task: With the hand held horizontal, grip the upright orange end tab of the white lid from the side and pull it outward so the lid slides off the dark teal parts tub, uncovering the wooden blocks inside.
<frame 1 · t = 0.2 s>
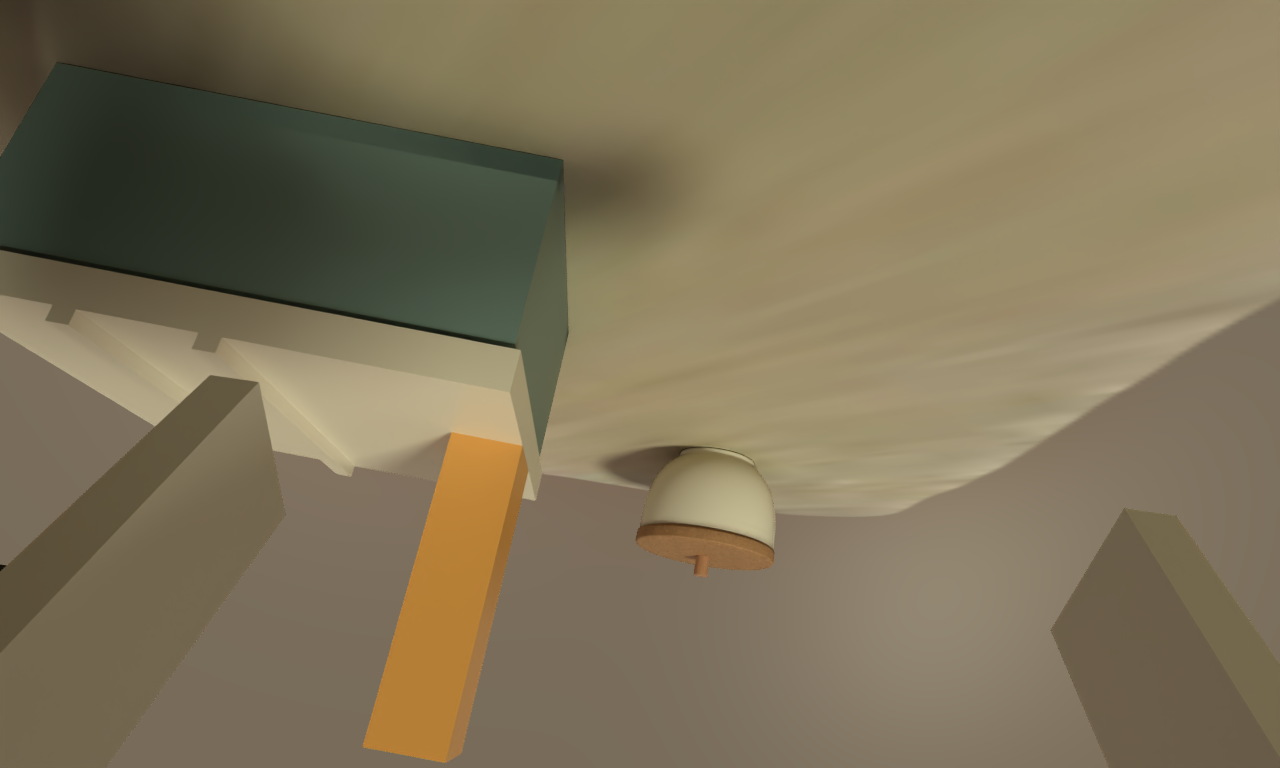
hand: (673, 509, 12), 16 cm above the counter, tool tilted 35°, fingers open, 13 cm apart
tub: (363, 225, 37), on the counter
lid: (251, 531, 32), point 15 cm above the counter, slide at 0.0 cm
lidded jar: (717, 457, 63), on the counter
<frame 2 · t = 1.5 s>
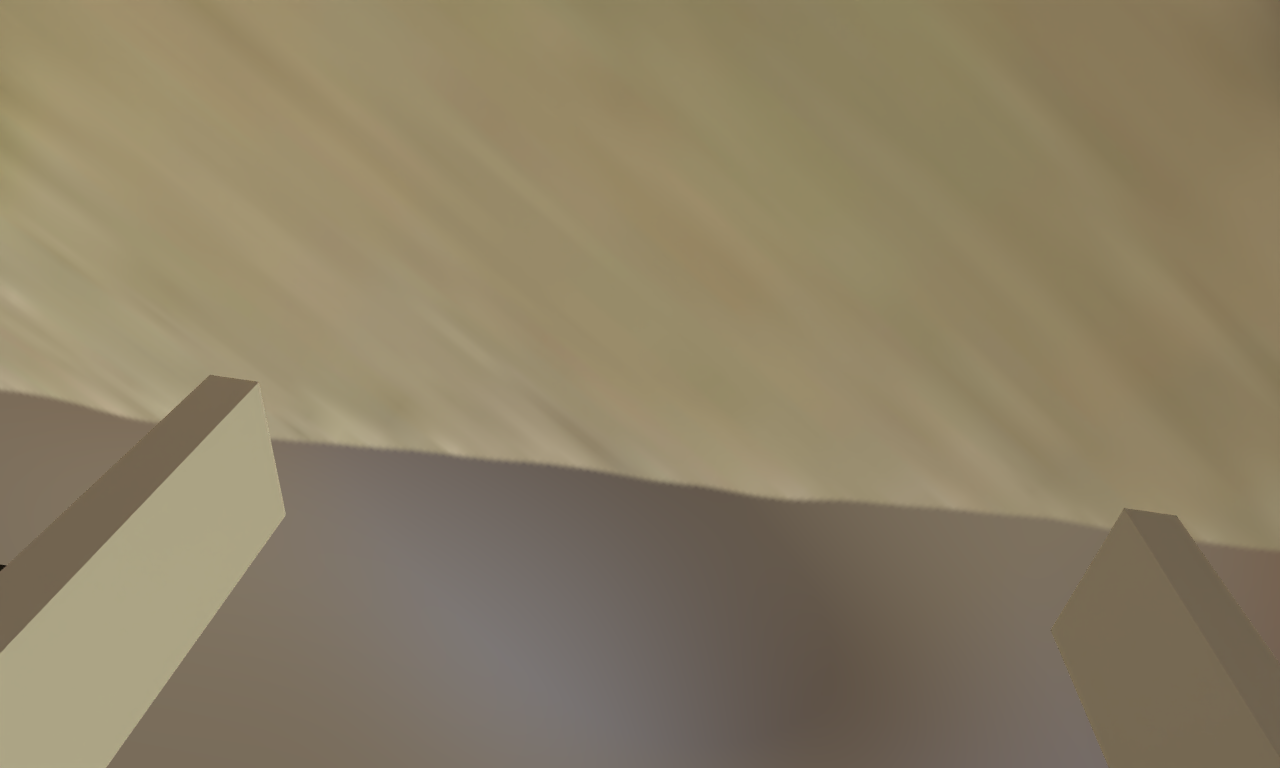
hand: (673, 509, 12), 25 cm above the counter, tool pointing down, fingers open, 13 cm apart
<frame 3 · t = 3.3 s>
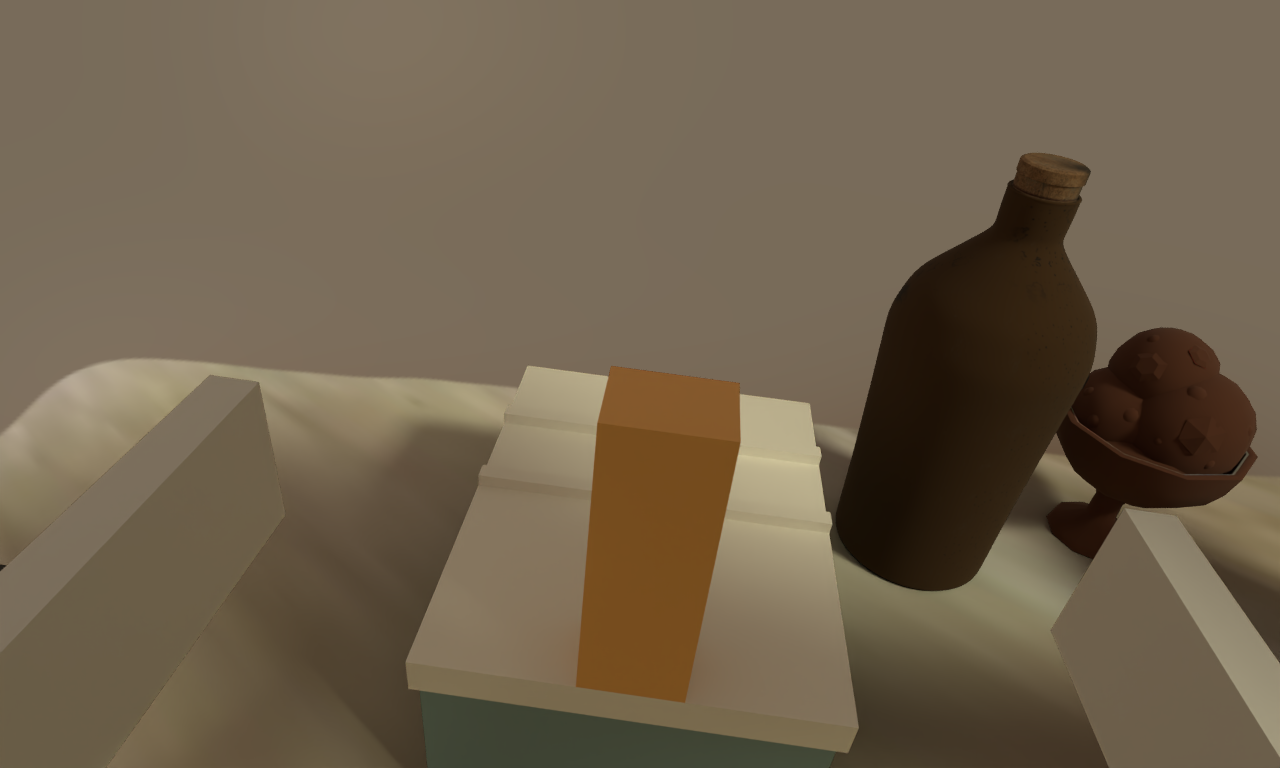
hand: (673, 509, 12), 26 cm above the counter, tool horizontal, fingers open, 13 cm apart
tub: (634, 638, 42), on the counter
olive oil: (906, 540, 51), on the counter
lid: (666, 414, 34), point 15 cm above the counter, slide at 0.0 cm
ice cream bowl: (1088, 535, 53), on the counter
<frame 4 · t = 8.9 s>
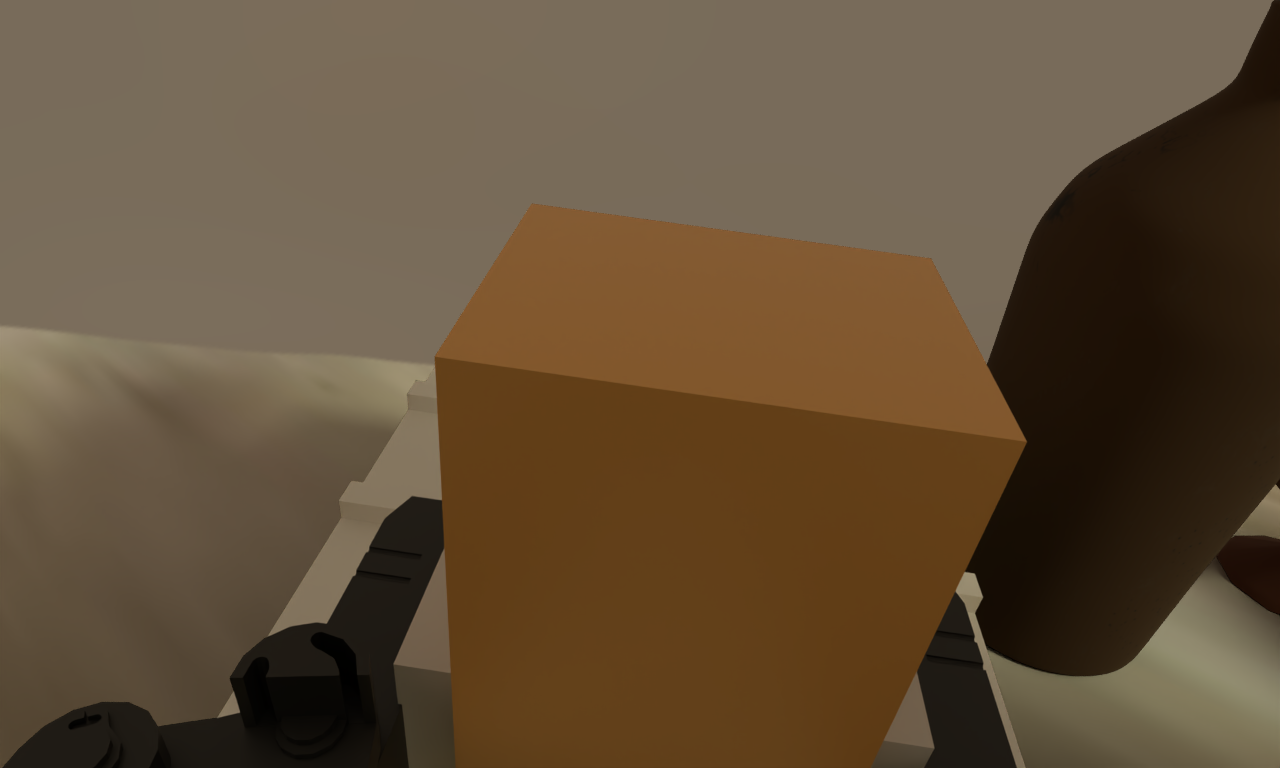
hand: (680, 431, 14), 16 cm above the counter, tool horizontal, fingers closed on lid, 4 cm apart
olive oil: (1026, 592, 35), on the counter
lid: (681, 391, 18), point 15 cm above the counter, slide at 0.0 cm, touching gripper
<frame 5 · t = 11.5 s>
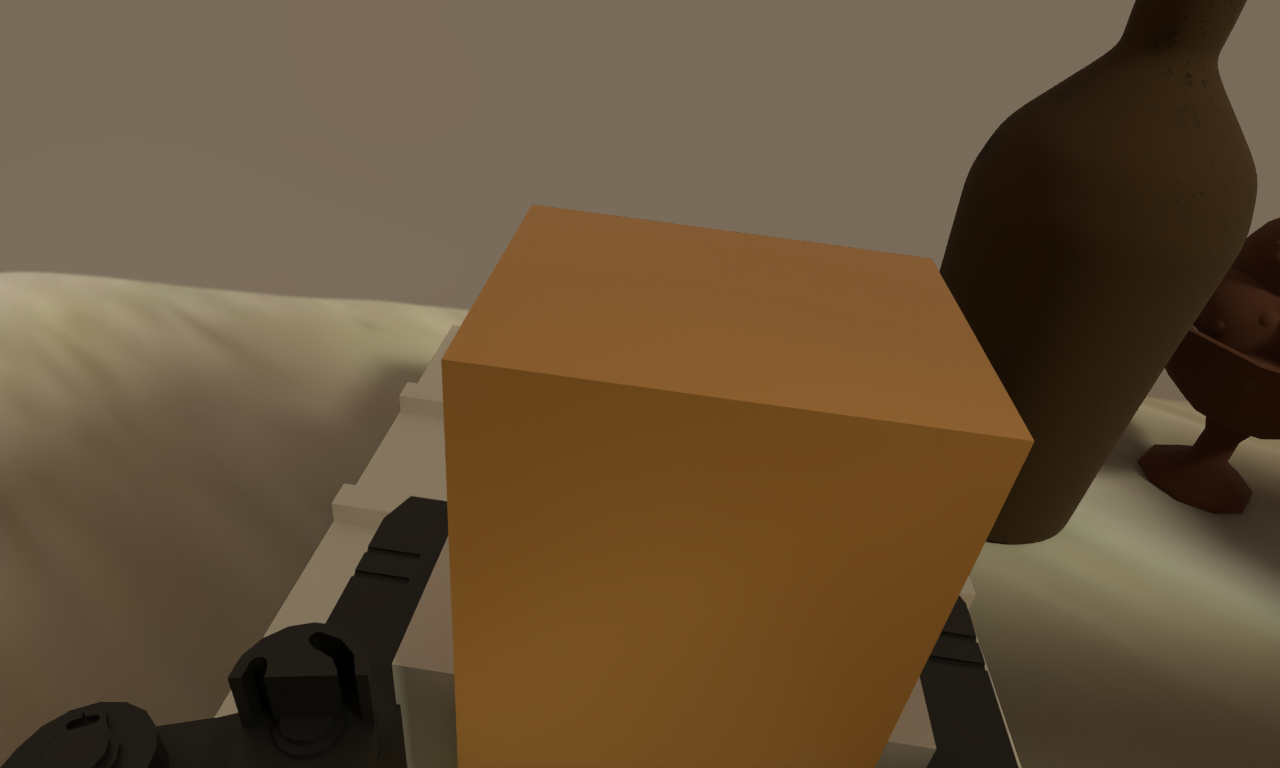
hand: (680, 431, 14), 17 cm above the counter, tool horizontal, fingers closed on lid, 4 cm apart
olive oil: (973, 485, 41), on the counter
lid: (676, 391, 18), point 15 cm above the counter, slide at 7.2 cm, touching gripper
ice cream bowl: (1190, 483, 43), on the counter
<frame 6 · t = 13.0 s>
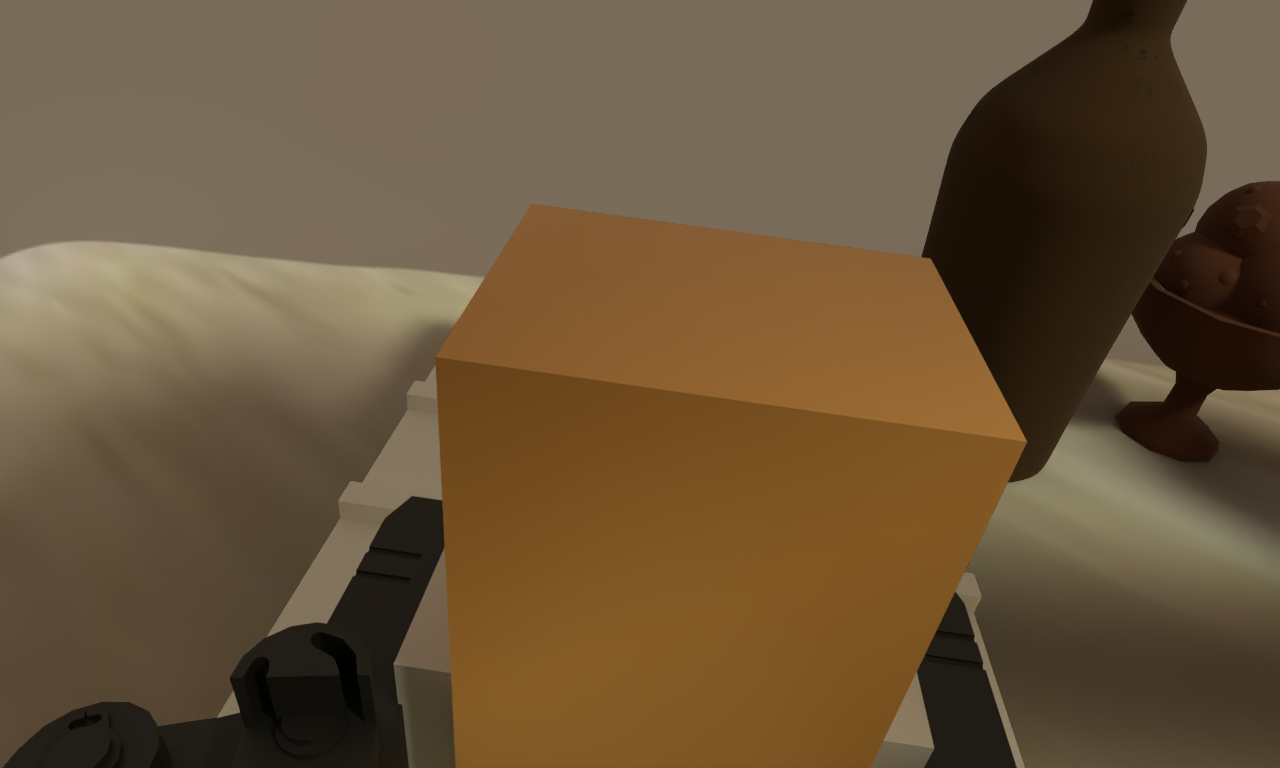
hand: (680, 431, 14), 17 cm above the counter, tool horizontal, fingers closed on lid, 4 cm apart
olive oil: (960, 434, 45), on the counter
lid: (680, 391, 18), point 15 cm above the counter, slide at 11.9 cm, touching gripper
ice cream bowl: (1163, 435, 47), on the counter
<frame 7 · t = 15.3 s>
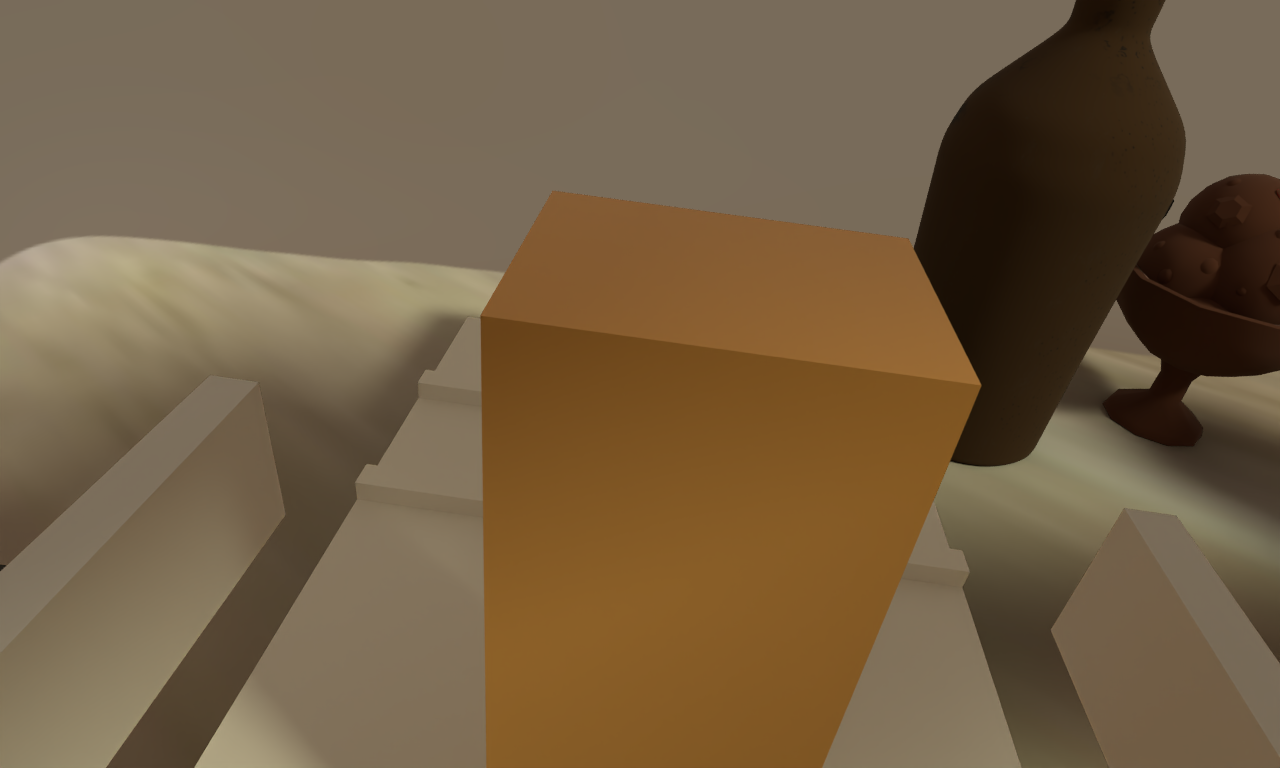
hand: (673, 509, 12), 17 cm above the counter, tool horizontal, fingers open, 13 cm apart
olive oil: (952, 420, 46), on the counter
lid: (682, 375, 18), point 15 cm above the counter, slide at 12.4 cm
ice cream bowl: (1149, 421, 48), on the counter
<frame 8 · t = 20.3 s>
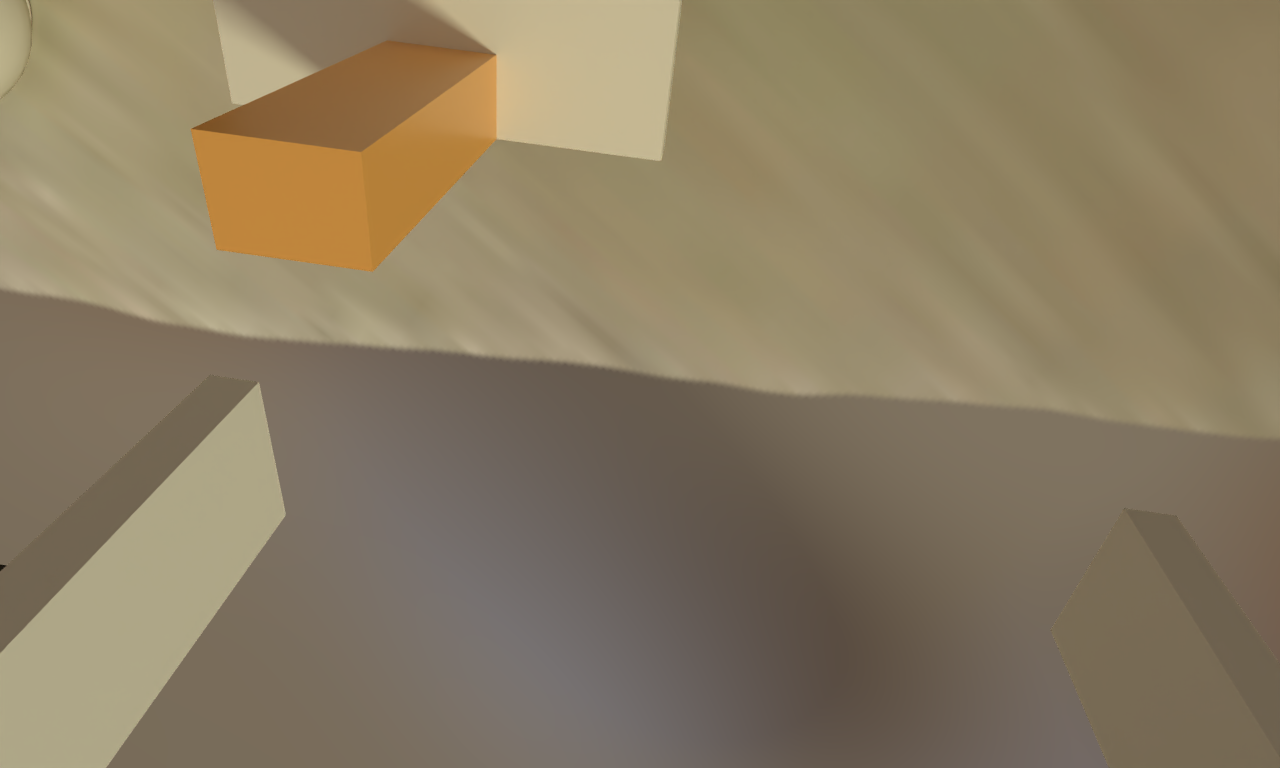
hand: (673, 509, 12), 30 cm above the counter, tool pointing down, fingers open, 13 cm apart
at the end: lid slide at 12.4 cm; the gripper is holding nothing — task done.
